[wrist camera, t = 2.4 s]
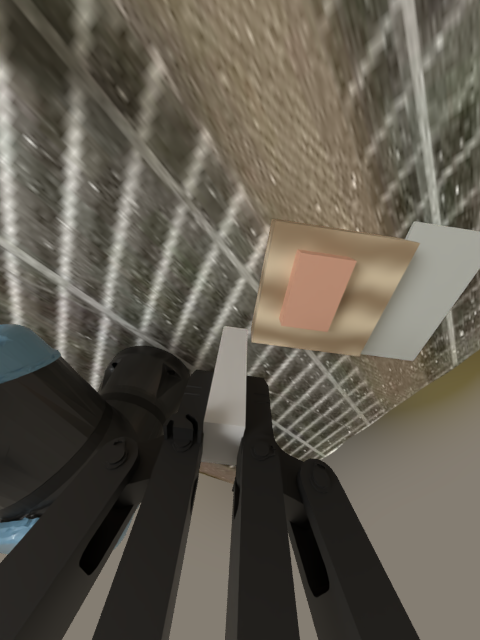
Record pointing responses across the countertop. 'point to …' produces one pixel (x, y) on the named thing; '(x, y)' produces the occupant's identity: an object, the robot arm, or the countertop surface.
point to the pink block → (315, 289)
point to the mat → (425, 289)
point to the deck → (359, 296)
